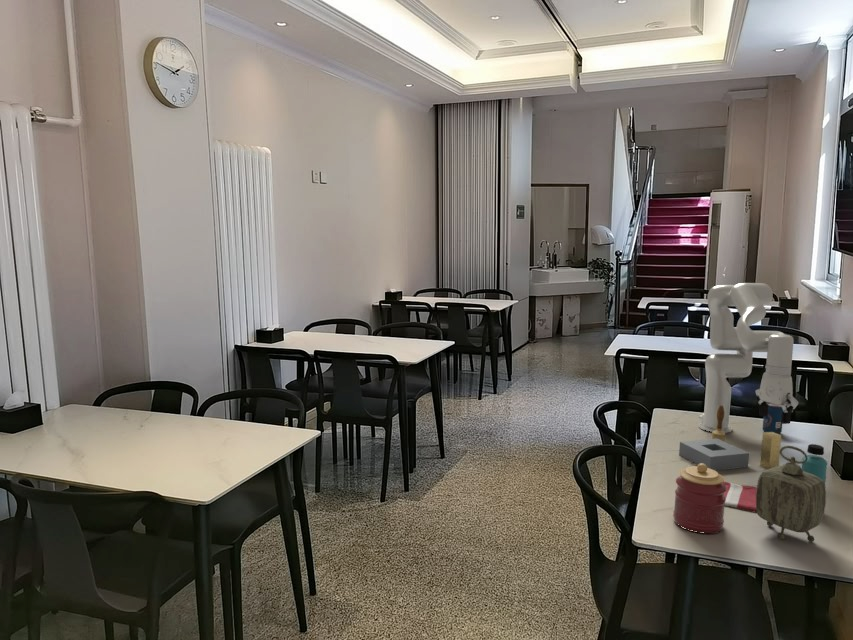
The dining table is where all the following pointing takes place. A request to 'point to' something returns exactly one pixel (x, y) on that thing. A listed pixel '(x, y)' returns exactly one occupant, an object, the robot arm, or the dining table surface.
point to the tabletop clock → (791, 497)
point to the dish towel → (740, 496)
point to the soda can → (773, 419)
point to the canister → (700, 499)
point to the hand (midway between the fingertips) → (774, 419)
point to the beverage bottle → (815, 462)
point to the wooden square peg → (770, 450)
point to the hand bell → (719, 426)
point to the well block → (714, 454)
